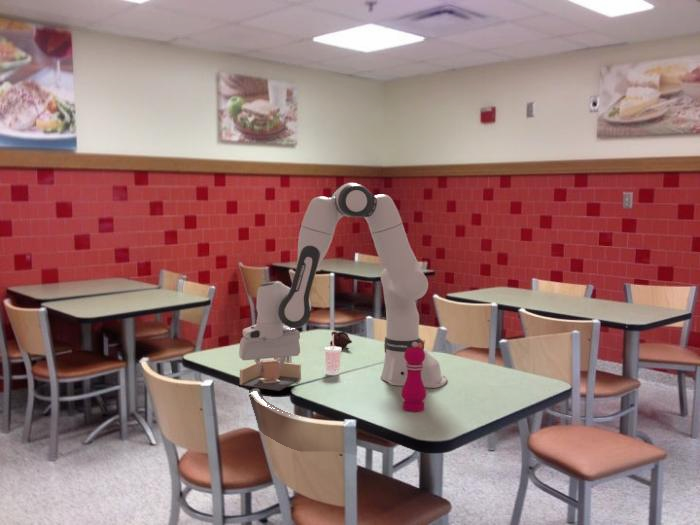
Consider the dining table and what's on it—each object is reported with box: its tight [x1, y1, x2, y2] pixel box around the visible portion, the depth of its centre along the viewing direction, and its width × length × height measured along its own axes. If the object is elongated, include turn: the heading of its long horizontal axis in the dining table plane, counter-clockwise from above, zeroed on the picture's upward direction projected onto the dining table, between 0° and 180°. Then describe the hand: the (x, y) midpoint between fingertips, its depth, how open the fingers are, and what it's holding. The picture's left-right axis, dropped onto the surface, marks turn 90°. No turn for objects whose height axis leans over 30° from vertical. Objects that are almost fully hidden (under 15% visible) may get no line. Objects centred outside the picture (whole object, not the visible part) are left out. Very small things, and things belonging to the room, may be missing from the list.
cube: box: [260, 358, 279, 379], centre depth 213 cm, size 5×5×5 cm
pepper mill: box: [401, 342, 427, 413], centre depth 187 cm, size 7×7×20 cm
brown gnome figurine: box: [329, 331, 353, 349], centre depth 263 cm, size 7×7×15 cm
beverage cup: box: [323, 334, 343, 376], centre depth 224 cm, size 6×6×14 cm
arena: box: [239, 359, 302, 392], centre depth 213 cm, size 15×15×5 cm
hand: (270, 370), depth 213 cm, fingers closed on cube, 5 cm apart
